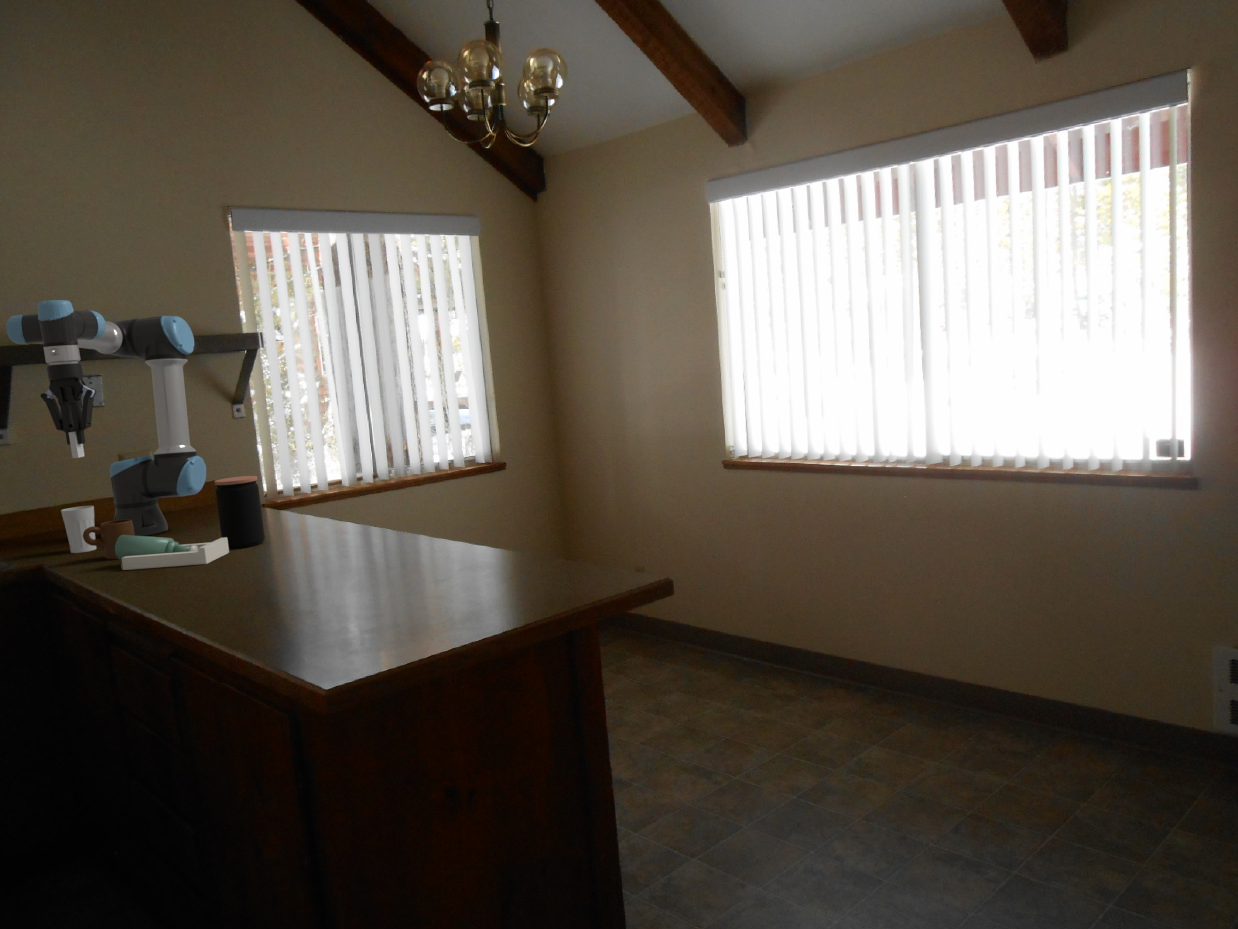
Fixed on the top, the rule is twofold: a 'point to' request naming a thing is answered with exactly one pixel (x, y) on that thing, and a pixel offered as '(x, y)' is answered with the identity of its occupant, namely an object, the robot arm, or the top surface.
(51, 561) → the top surface
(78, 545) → the cup
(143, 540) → the bottle
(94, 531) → the mug
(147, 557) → the rest
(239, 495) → the coffee jar
